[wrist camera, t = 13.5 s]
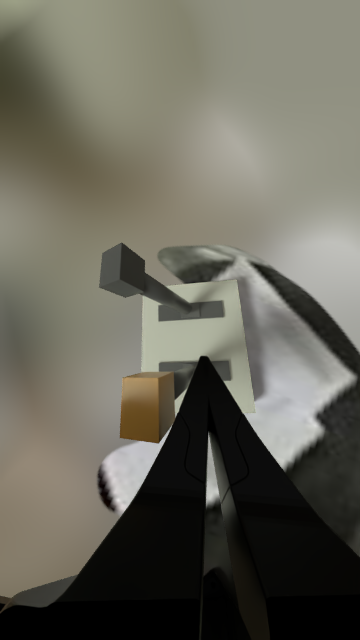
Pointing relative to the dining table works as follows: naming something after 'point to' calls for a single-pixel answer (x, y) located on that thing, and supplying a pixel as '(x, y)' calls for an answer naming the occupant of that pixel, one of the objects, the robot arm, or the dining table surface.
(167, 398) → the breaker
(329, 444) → the dining table surface
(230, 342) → the breaker panel
